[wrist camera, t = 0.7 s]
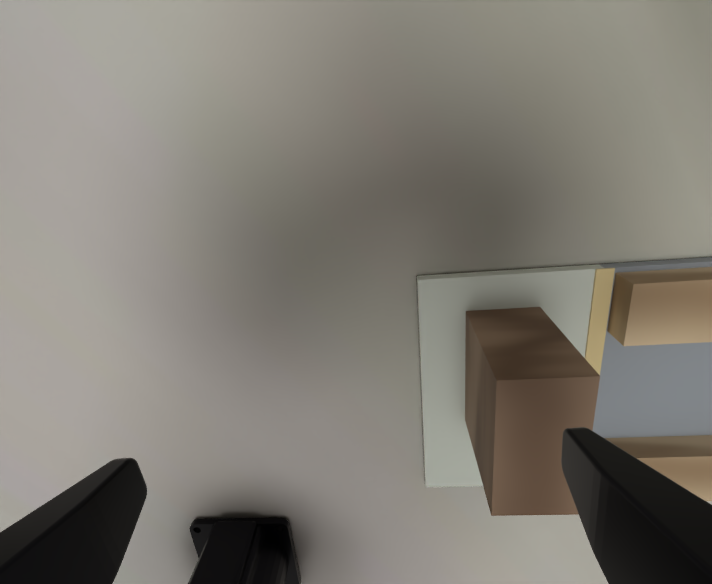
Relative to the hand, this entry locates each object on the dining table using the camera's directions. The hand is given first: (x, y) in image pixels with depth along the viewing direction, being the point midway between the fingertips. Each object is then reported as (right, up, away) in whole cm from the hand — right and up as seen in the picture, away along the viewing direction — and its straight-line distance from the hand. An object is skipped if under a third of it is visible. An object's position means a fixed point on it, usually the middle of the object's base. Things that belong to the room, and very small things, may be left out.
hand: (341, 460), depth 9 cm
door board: (+13, -1, +13) cm, 19 cm away
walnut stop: (+8, 0, +13) cm, 15 cm away
